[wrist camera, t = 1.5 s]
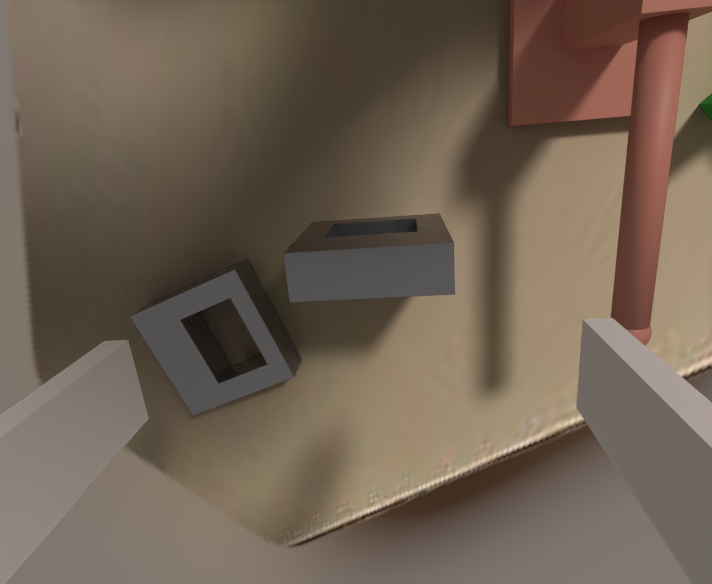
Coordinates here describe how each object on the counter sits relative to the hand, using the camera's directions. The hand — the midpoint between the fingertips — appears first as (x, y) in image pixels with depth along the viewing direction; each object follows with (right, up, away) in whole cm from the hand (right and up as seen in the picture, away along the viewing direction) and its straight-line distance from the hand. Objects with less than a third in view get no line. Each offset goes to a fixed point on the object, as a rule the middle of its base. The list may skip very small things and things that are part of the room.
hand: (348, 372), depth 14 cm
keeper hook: (+13, +12, +13) cm, 22 cm away
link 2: (+2, +6, +16) cm, 17 cm away
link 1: (-9, 0, +19) cm, 21 cm away
